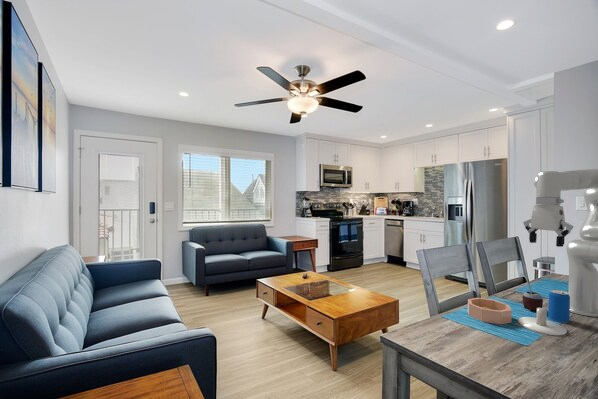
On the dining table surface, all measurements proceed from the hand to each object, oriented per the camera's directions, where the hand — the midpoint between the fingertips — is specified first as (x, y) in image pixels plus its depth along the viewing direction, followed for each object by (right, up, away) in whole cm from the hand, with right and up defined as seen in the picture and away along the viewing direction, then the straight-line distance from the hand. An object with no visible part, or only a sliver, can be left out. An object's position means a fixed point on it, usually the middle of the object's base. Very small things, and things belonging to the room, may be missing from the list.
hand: (545, 244), depth 120 cm
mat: (-6, -32, -5) cm, 32 cm away
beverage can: (+6, -32, +1) cm, 32 cm away
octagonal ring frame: (-20, -31, +4) cm, 37 cm away
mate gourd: (+4, -32, +12) cm, 34 cm away
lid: (-6, -31, -5) cm, 32 cm away
